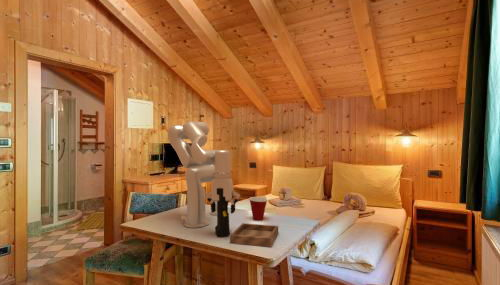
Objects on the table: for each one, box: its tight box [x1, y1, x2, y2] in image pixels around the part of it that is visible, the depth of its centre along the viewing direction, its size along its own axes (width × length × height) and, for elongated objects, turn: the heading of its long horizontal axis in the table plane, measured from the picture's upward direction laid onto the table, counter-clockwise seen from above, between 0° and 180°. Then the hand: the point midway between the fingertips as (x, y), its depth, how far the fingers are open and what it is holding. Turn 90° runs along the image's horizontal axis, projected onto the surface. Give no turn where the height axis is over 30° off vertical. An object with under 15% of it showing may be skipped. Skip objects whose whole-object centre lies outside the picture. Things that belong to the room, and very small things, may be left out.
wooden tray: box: [229, 222, 279, 248], centre depth 119 cm, size 18×18×4 cm
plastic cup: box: [248, 196, 269, 222], centre depth 150 cm, size 11×11×12 cm
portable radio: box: [214, 188, 231, 238], centre depth 123 cm, size 8×6×25 cm
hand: (223, 212), depth 123 cm, fingers open, 9 cm apart
